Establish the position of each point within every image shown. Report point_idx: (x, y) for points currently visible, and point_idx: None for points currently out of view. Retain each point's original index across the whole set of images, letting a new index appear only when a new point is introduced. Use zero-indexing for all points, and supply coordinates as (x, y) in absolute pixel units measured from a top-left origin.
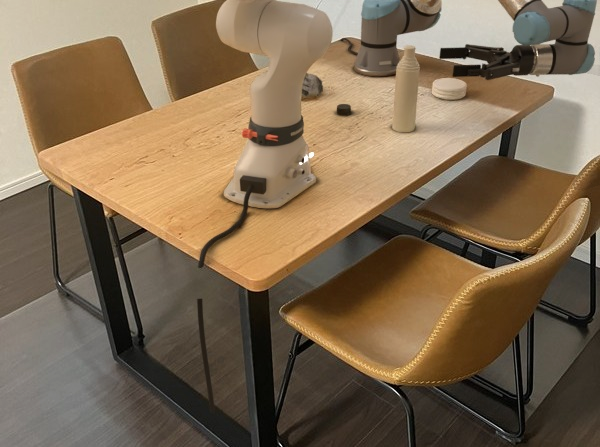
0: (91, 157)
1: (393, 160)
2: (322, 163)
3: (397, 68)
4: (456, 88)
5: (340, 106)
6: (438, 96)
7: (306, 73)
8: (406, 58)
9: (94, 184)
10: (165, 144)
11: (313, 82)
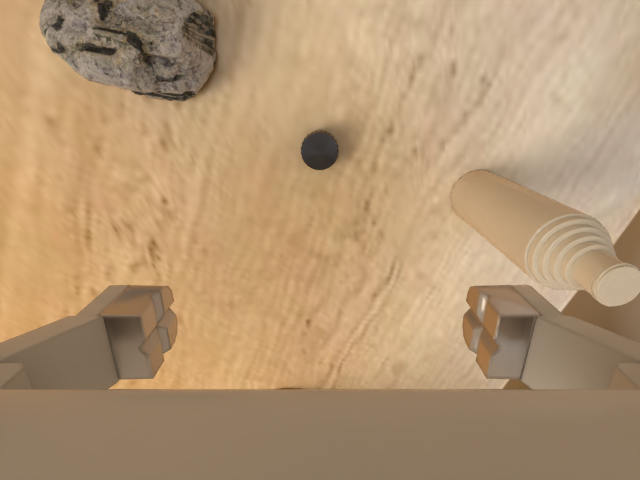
0: None
1: (464, 339)
2: (344, 378)
3: (528, 270)
4: None
5: (311, 155)
6: None
7: (145, 37)
8: (580, 287)
9: None
10: None
11: (187, 58)
